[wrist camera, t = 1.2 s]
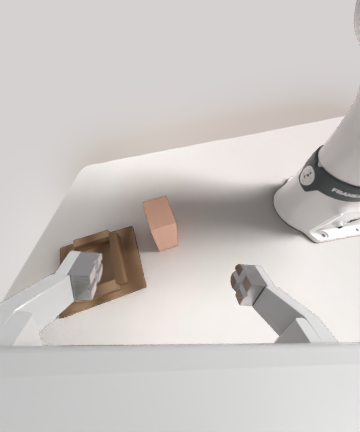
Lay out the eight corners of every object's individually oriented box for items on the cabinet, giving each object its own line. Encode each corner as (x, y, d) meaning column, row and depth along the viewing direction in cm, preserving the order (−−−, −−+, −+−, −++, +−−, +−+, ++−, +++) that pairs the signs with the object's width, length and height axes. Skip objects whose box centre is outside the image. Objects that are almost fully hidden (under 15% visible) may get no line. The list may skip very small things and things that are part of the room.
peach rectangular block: (170, 223, 41) (166, 195, 31) (178, 245, 38) (176, 222, 28) (152, 228, 40) (142, 202, 30) (159, 251, 37) (150, 230, 28)
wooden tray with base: (132, 227, 40) (127, 219, 37) (146, 287, 34) (142, 284, 30) (63, 249, 38) (50, 243, 34) (62, 318, 31) (47, 318, 28)
